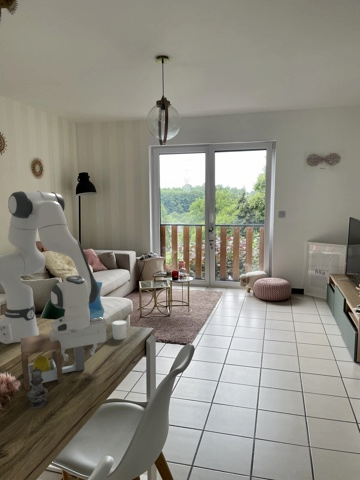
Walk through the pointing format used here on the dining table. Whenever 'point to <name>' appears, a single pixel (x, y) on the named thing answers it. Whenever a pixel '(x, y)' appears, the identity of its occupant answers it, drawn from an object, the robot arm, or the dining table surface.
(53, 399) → the dining table surface
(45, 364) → the lemon
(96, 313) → the blue angular vessel
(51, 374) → the slider
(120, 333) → the grey white cylinder
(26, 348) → the tunnel
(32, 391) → the gray stone ornament
